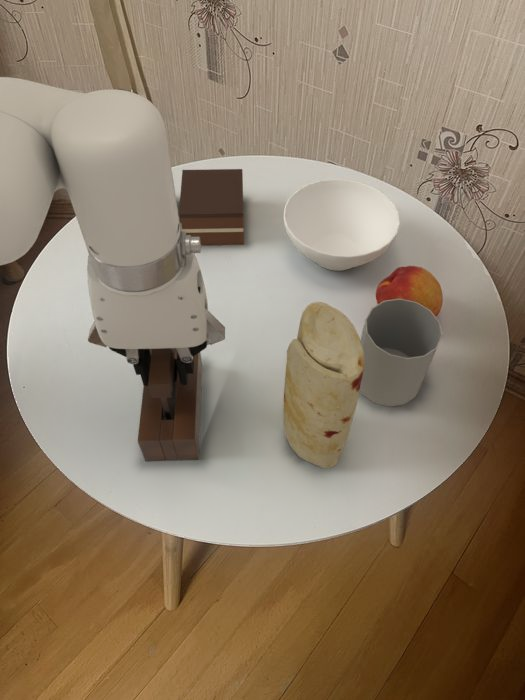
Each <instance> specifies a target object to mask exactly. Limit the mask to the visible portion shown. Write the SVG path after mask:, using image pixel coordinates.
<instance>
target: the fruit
mask: <svg viewBox="0 0 525 700" xmlns="http://www.w3.org/2000/svg"><path fill="white" fill-rule="evenodd" d="M394 299H404V300H409V301H414V302H417V303H419V304H421V305H422V306H424V307H426V308H427V309H429V310H431V312H432V313H433V314H434V315H435V317H436V318H437V317H438V315H439V314H440V312H441V309H442V308H443V301H444V296H443V290H442V286H441V284H440V282H439V281H438V279H437V278H436V277H435V276H434V275H433V274H432V273H431V272H430V271H428V270H427V269H425V268H423V267H421V266H417V265H408V266H407V265H406V266H399V267H397V268H395V269H394V270H393V271H392V273H390V274H389V275H388V276H387V277H385V278H383V280H381V281H380V282H379V283H378V285H377V287H376V291H375V300H376V303H377V305H378V304H380V303H381V302H383V301H386V300H394Z"/></svg>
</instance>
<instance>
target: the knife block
mask: <svg viewBox="0 0 525 700" xmlns="http://www.w3.org/2000/svg"><path fill="white" fill-rule="evenodd" d="M149 350H150V353H151V354H152V349H149ZM193 360H194V373H193V374H188V384H187V385H182V384H180V379H179V374H178V370H177V350H176V348H175V360H174V362H175V367H176V371H177V387H176V402H175V416H174V420H166V416H165V412H164V409H163V405H162V401H161V398H152V396H151V392H150V389H149V386H144V385H143V389H142V398H141V399H142V400H141V405H140V406H141V407H140V414H139V415H140V416H139V426H138V433H137V444H138V446H139V448H140V452H141V454H142V456H143V460H144V461H145V462H165V461H170V462H171V461H199V460H200V438H201V437H200V436H201V435H200V434H201V411H202V410H201V409H202V386H203V385H202V383H203V361H202V353H201V352H199V353H198V354H196V355H195V356H193Z"/></svg>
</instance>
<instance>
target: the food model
mask: <svg viewBox="0 0 525 700" xmlns="http://www.w3.org/2000/svg"><path fill="white" fill-rule="evenodd" d="M360 340H361V337H360V336H359V334H358V332H357V330H356V328H355V326H354V324H353V322H352V321H351V320H350V319H349V318H348V317H347V316H346V314H345V313H343V312H342V311H340V310H338V309H337V308H335V307H333V306H332V305H330V304H328V303H326V302H322V301H316V302H312V303H310V304H308V305H307V306H306V307H305V308H304V309H303V311H302V313H301V317H300V321H299V327H298V332H297V337H296V338H293V339H292V340H291V342H290V343H289V344H288V347H287V350H286V362H285V363H286V365H285V374H284V375H285V376H284V386H283V412H282V413H283V414H282V418H283V430H284V431H283V432H284V434H285V438H286V441H287V442H288V444H289V446H290V447H291V449H292V451H294V453H295V454H296V455H297V456H298V457H299V458H300V459H302V460H304V461H306V462H308V463H311V464H313V465H315V466H318V467H320V468H321V469H330V468H333V467H335V466H336V465H337V463H338V462H339V460H340V457H341V455H342V452H343V450H344V447H345V445H346V442H347V440H348V437H349V433H350V430H351V427H352V423H353V419H354V416H355V414H356V409H357V405H358V401H359V396H360V385H361V380H362V376H363V372H364V352H363V348H362V344H361V341H360Z"/></svg>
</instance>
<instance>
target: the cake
mask: <svg viewBox="0 0 525 700" xmlns="http://www.w3.org/2000/svg"><path fill="white" fill-rule="evenodd" d="M243 174H244V173H243V169H242V168H219V169H218V168H216V169H213V168H211V169H210V168H209V169H182V172H181V183H180V195H179V207H178V215H179V221H180V223H181V224H182V230H183V232H185V233H186V235H191V237H200V243H201V246H233V245H235V246H236V245H237V246H238V245H239V246H240V245H241V246H242V245H245V236H244V235H245V228H244V227H245V222H244V216H245V215H244V178H243V177H244V176H243Z"/></svg>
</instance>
